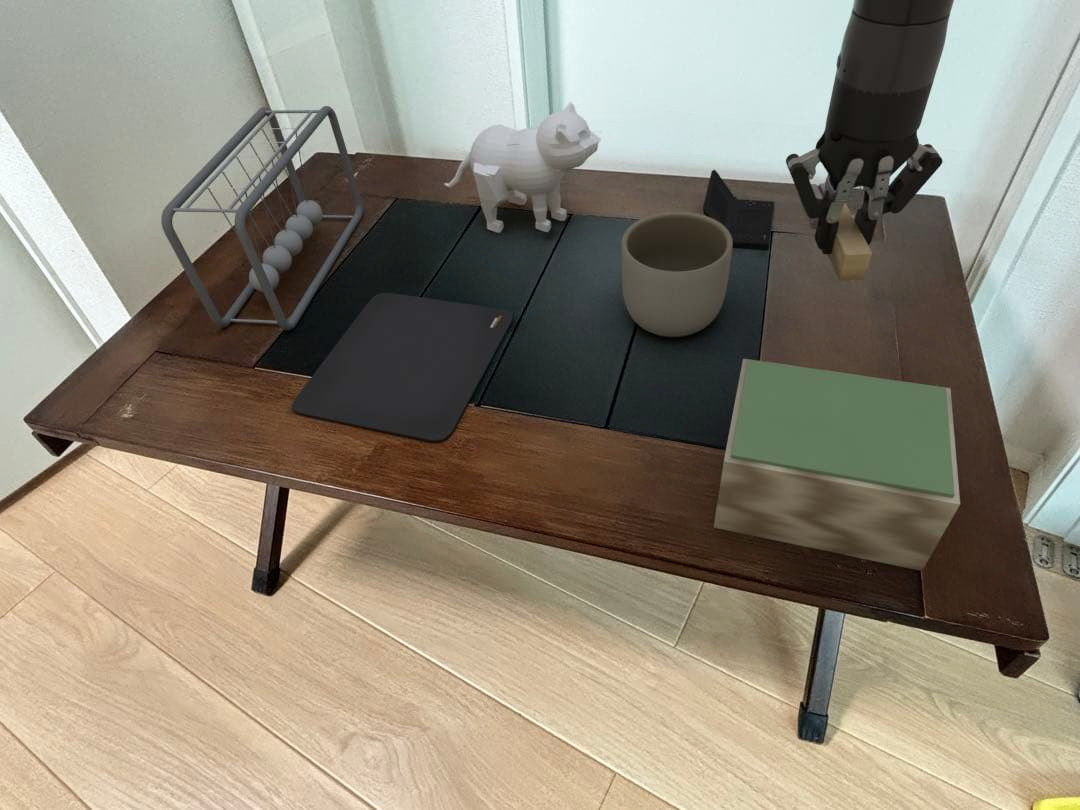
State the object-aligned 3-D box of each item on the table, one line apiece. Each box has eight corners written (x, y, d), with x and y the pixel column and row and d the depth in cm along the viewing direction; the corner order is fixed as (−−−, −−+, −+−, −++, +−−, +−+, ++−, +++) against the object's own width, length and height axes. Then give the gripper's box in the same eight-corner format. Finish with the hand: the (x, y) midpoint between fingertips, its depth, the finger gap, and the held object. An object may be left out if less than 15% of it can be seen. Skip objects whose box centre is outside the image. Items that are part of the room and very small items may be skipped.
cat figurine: (434, 228, 108) (410, 120, 95) (462, 192, 114) (442, 87, 102) (595, 248, 100) (590, 134, 88) (614, 208, 107) (612, 97, 95)
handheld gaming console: (786, 238, 95) (745, 181, 91) (739, 268, 99) (697, 214, 95) (776, 203, 104) (738, 149, 100) (733, 232, 108) (694, 181, 104)
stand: (917, 459, 71) (950, 388, 64) (922, 571, 63) (960, 504, 55) (732, 427, 76) (743, 358, 69) (713, 527, 67) (723, 461, 60)
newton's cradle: (290, 338, 93) (236, 218, 80) (217, 334, 94) (153, 216, 82) (366, 212, 113) (333, 99, 100) (305, 211, 115) (264, 100, 102)
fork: (869, 279, 68) (877, 252, 66) (834, 281, 68) (841, 255, 66) (825, 192, 79) (830, 167, 77) (795, 194, 80) (800, 169, 77)
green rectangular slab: (944, 391, 63) (946, 387, 63) (953, 498, 56) (954, 494, 56) (747, 362, 68) (748, 359, 68) (730, 457, 60) (731, 454, 60)
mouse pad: (446, 445, 77) (445, 443, 77) (286, 411, 83) (286, 410, 83) (517, 312, 92) (516, 311, 92) (377, 292, 97) (376, 290, 97)
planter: (720, 353, 84) (730, 277, 76) (614, 344, 86) (613, 269, 78) (725, 287, 92) (735, 213, 84) (629, 281, 94) (629, 208, 87)
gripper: (809, 96, 57) (776, 275, 69) (993, 81, 55) (926, 266, 68) (788, 59, 62) (761, 232, 74) (956, 45, 61) (900, 223, 73)
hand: (840, 248), depth 71 cm, fingers closed on fork, 2 cm apart
